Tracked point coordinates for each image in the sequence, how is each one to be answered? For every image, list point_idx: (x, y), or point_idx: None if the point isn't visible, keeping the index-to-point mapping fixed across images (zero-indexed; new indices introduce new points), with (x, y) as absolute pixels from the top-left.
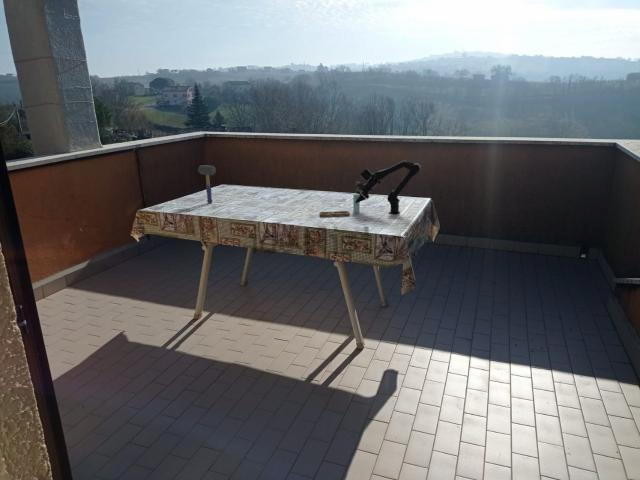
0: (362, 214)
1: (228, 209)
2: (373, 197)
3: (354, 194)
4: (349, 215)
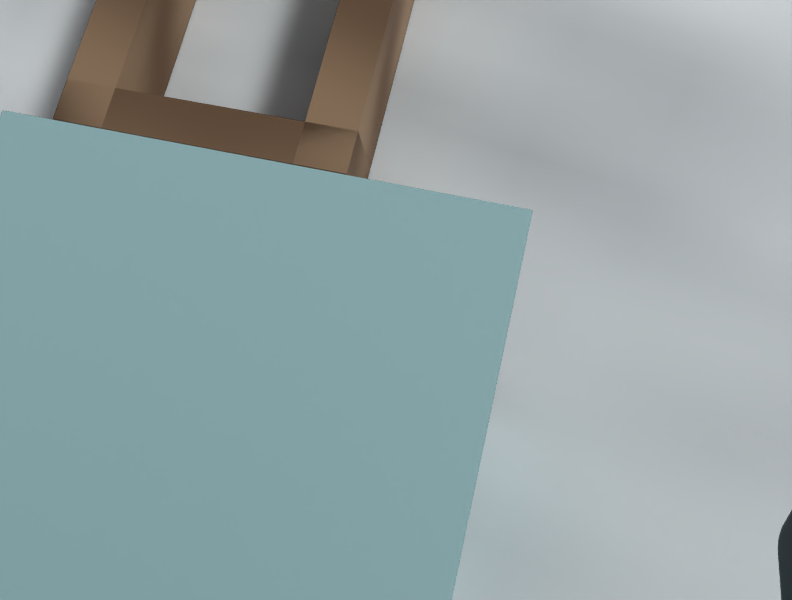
0: None
1: None
2: None
3: (204, 277)
4: None
